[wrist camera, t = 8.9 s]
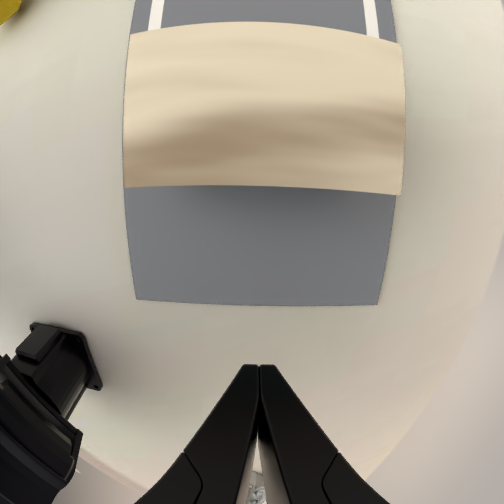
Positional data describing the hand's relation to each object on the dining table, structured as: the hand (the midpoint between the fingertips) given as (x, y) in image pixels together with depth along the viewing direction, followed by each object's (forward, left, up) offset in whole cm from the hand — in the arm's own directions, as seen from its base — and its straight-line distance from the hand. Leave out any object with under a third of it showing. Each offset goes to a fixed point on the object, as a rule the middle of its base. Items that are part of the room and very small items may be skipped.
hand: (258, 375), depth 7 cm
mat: (+8, 0, -10) cm, 13 cm away
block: (+5, 0, -7) cm, 8 cm away
